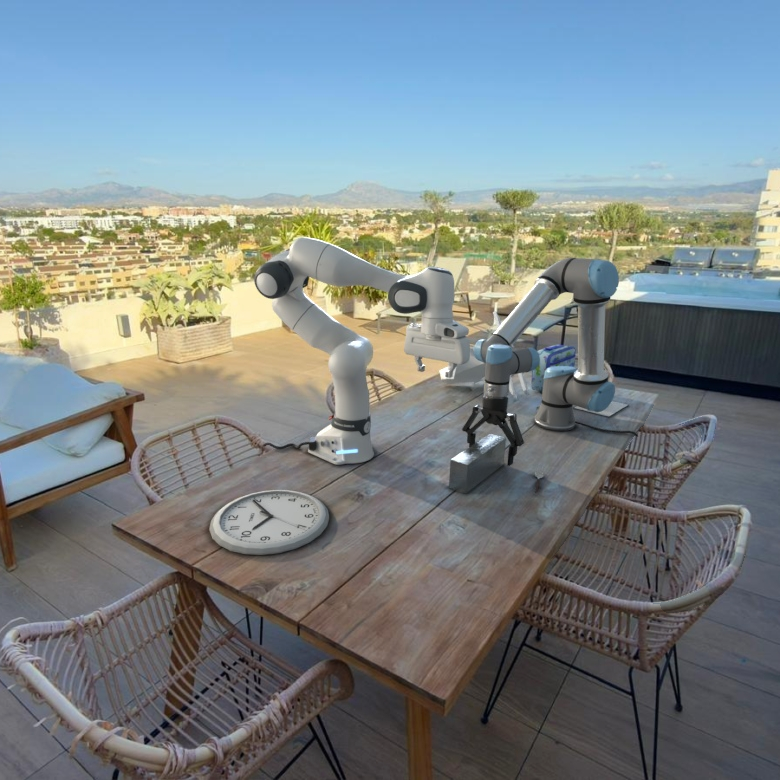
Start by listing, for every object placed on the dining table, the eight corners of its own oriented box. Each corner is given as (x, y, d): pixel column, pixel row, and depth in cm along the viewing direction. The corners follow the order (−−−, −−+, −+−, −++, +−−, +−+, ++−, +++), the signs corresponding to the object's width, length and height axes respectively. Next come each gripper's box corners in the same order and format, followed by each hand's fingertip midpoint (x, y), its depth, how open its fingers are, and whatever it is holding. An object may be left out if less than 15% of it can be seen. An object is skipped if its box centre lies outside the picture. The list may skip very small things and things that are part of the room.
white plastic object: (461, 429, 252) (437, 405, 227) (444, 352, 274) (420, 323, 250) (535, 404, 240) (518, 377, 215) (510, 326, 262) (492, 293, 237)
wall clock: (327, 546, 121) (194, 551, 119) (327, 552, 122) (195, 557, 119) (330, 485, 150) (223, 488, 147) (330, 490, 150) (224, 493, 148)
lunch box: (547, 397, 237) (552, 352, 231) (526, 391, 245) (531, 348, 238) (574, 386, 255) (580, 344, 249) (554, 381, 262) (559, 340, 256)
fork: (530, 493, 151) (531, 487, 150) (535, 470, 165) (536, 465, 164) (539, 495, 150) (540, 489, 149) (544, 472, 164) (544, 466, 163)
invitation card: (608, 416, 214) (573, 407, 224) (608, 416, 214) (573, 408, 224) (628, 404, 229) (594, 396, 238) (628, 405, 229) (594, 397, 238)
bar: (488, 459, 173) (490, 433, 170) (503, 464, 170) (506, 437, 167) (448, 488, 153) (450, 459, 151) (465, 493, 150) (467, 464, 147)
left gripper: (400, 323, 150) (399, 370, 154) (462, 333, 139) (459, 382, 143) (412, 320, 155) (411, 365, 159) (474, 329, 143) (470, 378, 147)
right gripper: (454, 390, 165) (450, 452, 171) (529, 407, 151) (522, 473, 157) (465, 385, 171) (461, 445, 177) (539, 400, 157) (532, 465, 163)
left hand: (434, 374), depth 151 cm, fingers open, 8 cm apart
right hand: (490, 458), depth 167 cm, fingers open, 13 cm apart
